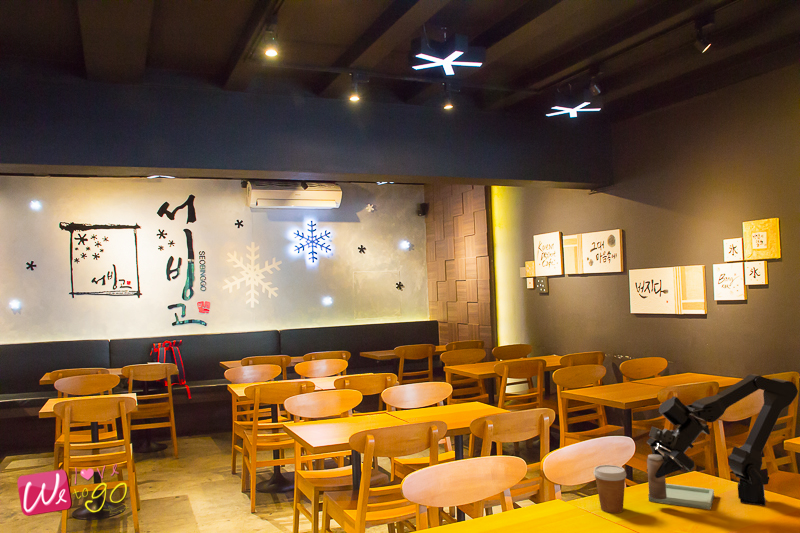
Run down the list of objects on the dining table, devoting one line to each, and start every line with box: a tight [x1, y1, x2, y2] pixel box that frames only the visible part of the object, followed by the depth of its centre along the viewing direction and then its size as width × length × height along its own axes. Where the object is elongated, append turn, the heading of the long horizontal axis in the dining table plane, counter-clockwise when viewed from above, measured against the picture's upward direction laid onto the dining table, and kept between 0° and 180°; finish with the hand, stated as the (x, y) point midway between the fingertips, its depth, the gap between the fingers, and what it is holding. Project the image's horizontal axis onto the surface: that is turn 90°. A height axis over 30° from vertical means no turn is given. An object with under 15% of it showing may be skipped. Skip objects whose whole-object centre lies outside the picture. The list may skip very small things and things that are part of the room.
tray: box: [647, 483, 715, 511], centre depth 184 cm, size 17×13×2 cm
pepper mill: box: [646, 453, 667, 499], centre depth 178 cm, size 5×5×12 cm
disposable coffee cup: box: [592, 464, 627, 514], centre depth 178 cm, size 10×10×12 cm
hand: (651, 474), depth 178 cm, fingers closed on pepper mill, 5 cm apart
